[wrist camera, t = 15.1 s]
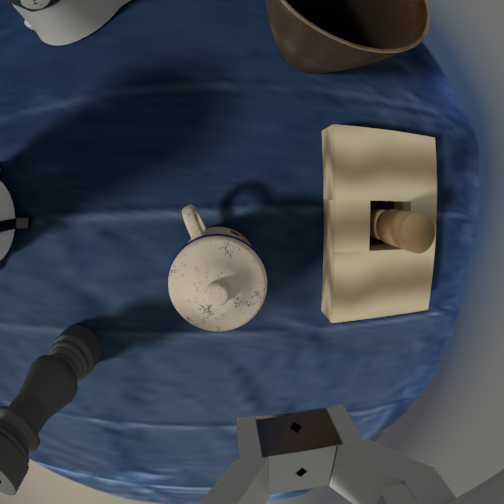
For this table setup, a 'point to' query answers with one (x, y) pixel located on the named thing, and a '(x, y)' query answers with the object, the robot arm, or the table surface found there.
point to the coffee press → (9, 220)
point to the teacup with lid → (216, 277)
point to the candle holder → (43, 400)
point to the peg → (403, 229)
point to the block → (358, 221)
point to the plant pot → (345, 31)
